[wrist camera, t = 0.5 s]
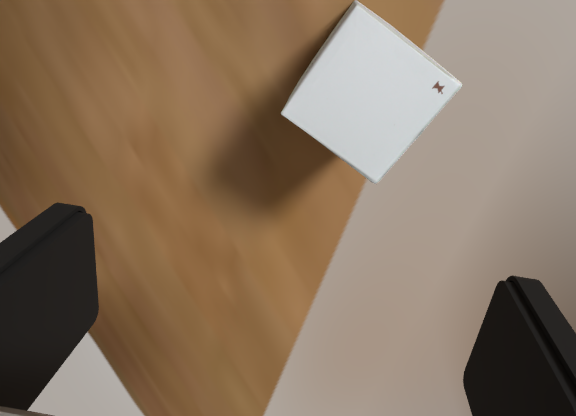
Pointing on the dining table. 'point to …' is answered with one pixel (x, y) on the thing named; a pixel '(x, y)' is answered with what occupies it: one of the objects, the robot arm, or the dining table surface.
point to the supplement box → (369, 93)
